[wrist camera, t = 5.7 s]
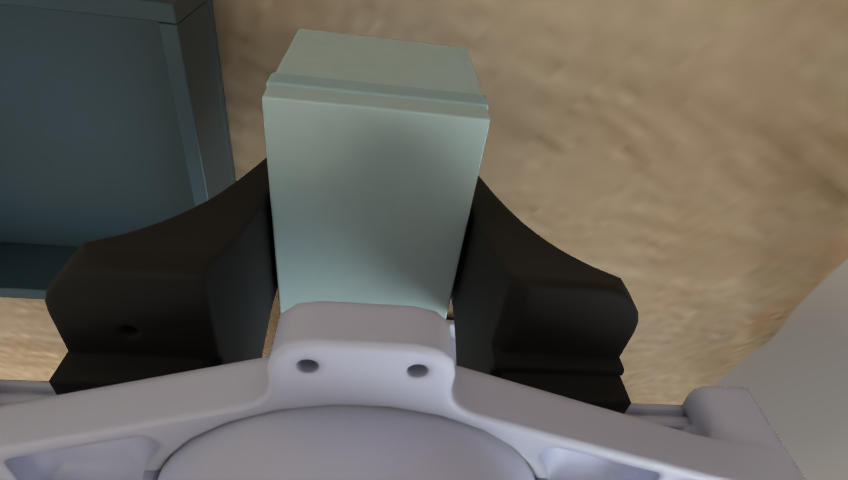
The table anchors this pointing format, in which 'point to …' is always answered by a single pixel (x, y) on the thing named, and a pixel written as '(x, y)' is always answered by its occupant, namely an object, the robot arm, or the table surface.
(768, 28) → the table surface
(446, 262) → the case
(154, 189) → the tray
